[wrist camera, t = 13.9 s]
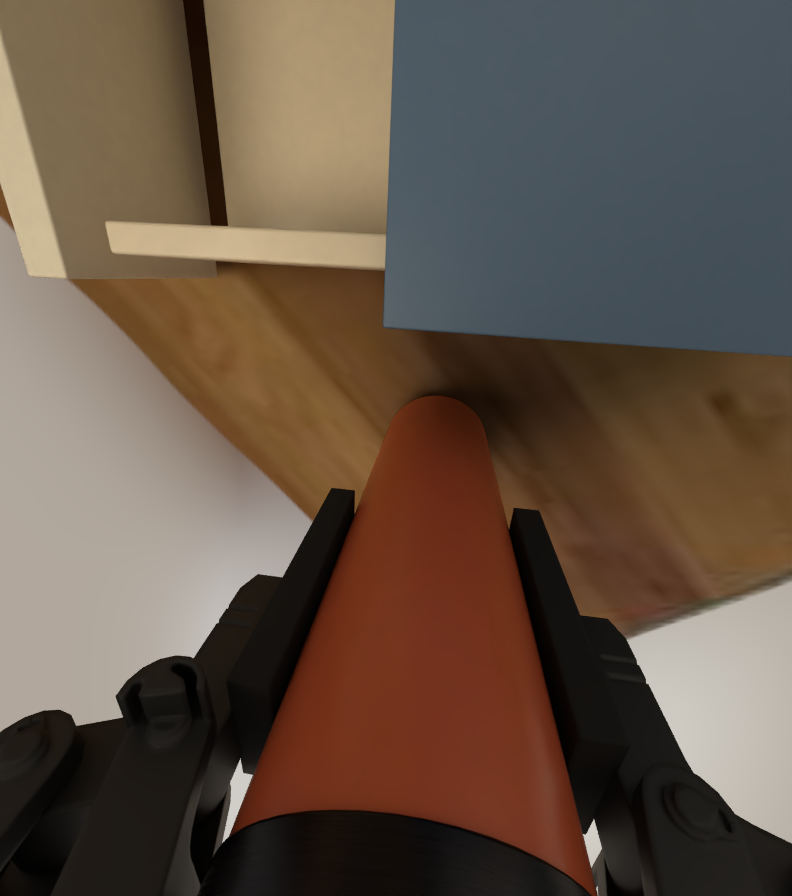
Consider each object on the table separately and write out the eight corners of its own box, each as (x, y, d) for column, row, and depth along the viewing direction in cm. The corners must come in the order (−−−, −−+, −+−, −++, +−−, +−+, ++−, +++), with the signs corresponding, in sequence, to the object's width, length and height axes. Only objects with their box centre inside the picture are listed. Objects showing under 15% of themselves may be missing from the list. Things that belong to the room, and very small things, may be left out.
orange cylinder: (401, 496, 21) (276, 1091, 6) (371, 407, 19) (66, 935, 4) (497, 476, 20) (668, 1160, 5) (475, 380, 18) (639, 980, 3)
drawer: (109, 271, 18) (-105, 268, 11) (7, -175, 13) (-541, -737, 6) (489, 294, 17) (520, 308, 10) (558, -202, 11) (751, -1024, 4)
